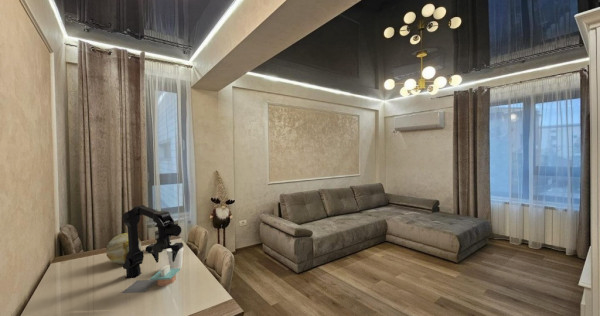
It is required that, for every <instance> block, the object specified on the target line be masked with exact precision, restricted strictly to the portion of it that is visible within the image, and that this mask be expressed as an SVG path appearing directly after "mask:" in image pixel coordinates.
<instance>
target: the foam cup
mask: <svg viewBox="0 0 600 316" xmlns="http://www.w3.org/2000/svg"><path fill="white" fill-rule="evenodd" d="M171 251H172V250H171V249H167V250H166V255H167V257H168V258H167V259H168V263H169V264H168V265H170V269H179V268H180V269H182V268H183V257H184V251H185V249H184V246H183V247H182V248H181V249H180V250H179V251H178V253H177V255H176V258H175V261H174V262H173V260H172V252H171Z"/></svg>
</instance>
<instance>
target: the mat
mask: <svg viewBox="0 0 600 316" xmlns="http://www.w3.org/2000/svg"><path fill="white" fill-rule="evenodd" d="M155 284H157V281H156V280H150V279H143V280H136V281H134V282H133V283H132V284H130V285H129V286H128V287H127V288H126V289H124V290H123V291H122V292H121V294H135V293H136V294H137V293H138V294H139V293H146V292H147V291H149V289H151V288H152V287H153V286H155Z"/></svg>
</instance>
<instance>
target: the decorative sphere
mask: <svg viewBox="0 0 600 316" xmlns="http://www.w3.org/2000/svg"><path fill="white" fill-rule="evenodd" d="M138 242H139V249H140V250H141V249H142V241H141V239H140V238H139V237H138ZM141 251H142V250H141ZM105 252H106V253H105V254H106V257H107V259H108V260H109V261H111V262H112V263H114V264H120V265H121V264H122V265H123V264H124V263H125V261H126V256H127V254H128V252H129V242H128V232H124V233H123V232H122V233H120V234H117V235H115V236H114V237H112V239H110V241H109V242H108V243H107V246H106V250H105Z"/></svg>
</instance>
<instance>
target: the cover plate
mask: <svg viewBox="0 0 600 316" xmlns="http://www.w3.org/2000/svg"><path fill="white" fill-rule="evenodd" d="M180 271H181V268H179V269H170V265H169V264H166V265H165V266H163V267H162V268H161V269H160V270H158V271H157V272H156V273H155V274H154V275H153V276H152V277H150V278H149V280H164V279H171V278H172V277H173V276H174V275H175V274H176V275H177V274H178V272H180Z"/></svg>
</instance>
